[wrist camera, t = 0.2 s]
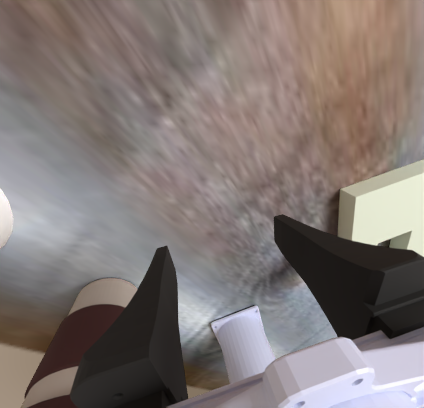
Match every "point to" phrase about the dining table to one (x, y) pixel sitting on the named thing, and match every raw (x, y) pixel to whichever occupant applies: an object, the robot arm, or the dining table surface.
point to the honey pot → (5, 219)
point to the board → (386, 209)
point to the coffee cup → (76, 341)
